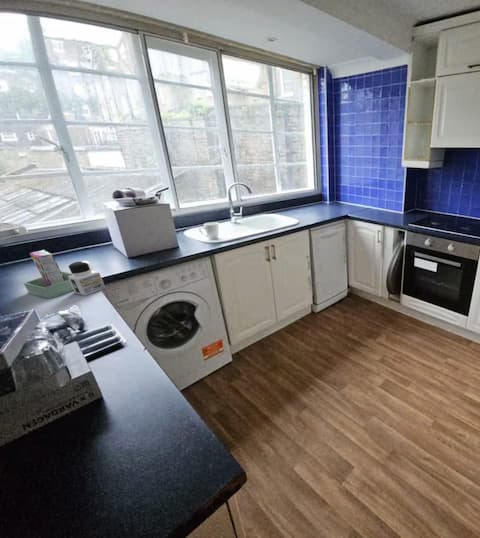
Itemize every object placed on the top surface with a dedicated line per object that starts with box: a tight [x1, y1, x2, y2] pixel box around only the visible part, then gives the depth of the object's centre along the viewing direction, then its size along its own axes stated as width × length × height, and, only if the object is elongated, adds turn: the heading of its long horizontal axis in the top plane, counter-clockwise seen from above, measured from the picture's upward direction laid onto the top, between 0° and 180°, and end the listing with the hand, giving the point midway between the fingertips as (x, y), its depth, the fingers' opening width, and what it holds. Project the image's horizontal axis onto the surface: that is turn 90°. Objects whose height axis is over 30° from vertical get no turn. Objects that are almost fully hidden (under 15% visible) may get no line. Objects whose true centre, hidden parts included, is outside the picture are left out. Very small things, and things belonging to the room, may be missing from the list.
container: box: [68, 260, 106, 296], centre depth 124 cm, size 8×8×13 cm
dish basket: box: [23, 270, 74, 300], centre depth 128 cm, size 13×16×5 cm
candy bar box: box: [29, 249, 65, 287], centre depth 126 cm, size 11×5×16 cm, turn 58°
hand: (3, 235), depth 129 cm, fingers open, 8 cm apart
